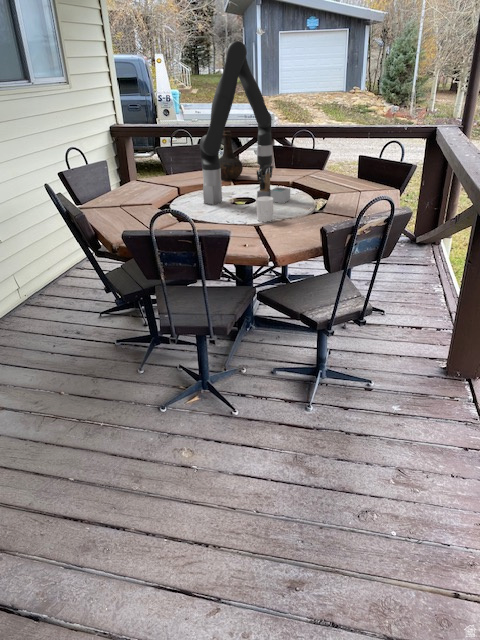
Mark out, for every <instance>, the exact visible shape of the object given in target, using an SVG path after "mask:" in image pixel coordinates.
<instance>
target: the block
mask: <svg viewBox="0 0 480 640" xmlns="http://www.w3.org/2000/svg"><path fill="white" fill-rule="evenodd" d="M262 176H264V175H262ZM259 190H260V191H263V192H267V191H269V190H271V178H270V173H267V174H266V178H265V189H264V190H262V189H260V188H259Z"/></svg>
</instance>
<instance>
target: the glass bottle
mask: <svg viewBox="0 0 480 640" xmlns="http://www.w3.org/2000/svg"><path fill="white" fill-rule="evenodd" d="M231 136H233V134H232V132H231V130H224V132H223V149H222V150H223V151H222V152H223V153H222V156H221V157H219V161H220V166H221V180H225V181H226V180H227V181H229V180H230V181H232V180H235V179H238V178H239V177H240V176H241V175H242V173H243V169H244V167H243V163H242V161H241V160H240V159H238V158H237V157H236V156H235V155H234V151H233V144H232V137H231Z"/></svg>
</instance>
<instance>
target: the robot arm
mask: <svg viewBox="0 0 480 640" xmlns="http://www.w3.org/2000/svg"><path fill="white" fill-rule="evenodd" d="M247 52H248V50H247V47H246V45H245V43H244V42H242V41H240V40H235V41H232V42H230V43H229V45H228V46H227V48H226V53H225V54H226V57H225V62H224V66H223V67H224V68H223V72H222V74H221V77H220V79H219V81H218V83H217V86H216V89H215V91H214V94H213V95H214V96H213V99H212V103H211V110H210V121H209V122H210V123H209V126H208V130H207V133H206V134H204V135H203V136H202V137H201V139H200V141H199V153H200V163H201V168H202V179H203V180H202V182H203V185H202V191H203V193H202V194H203V195H202V197H203V204H204V203H208V204H207V205H211V204H214V205H219V204H222V203H223V188H222V179H221V166H220V161H219V158H220V157H219V152H220V150H221V147H222V142H223V138H224V135H223V132H224V131H225V128H226V124H227V122H228V119H229V116H230V112H231V109H232V106H233V104H234V103H233V102H234V98H235V95H236V90H237V86H238V79H239V81H240V84H241V86H242V88H243V90H244V91H243V92H244V93H245V96H246V98H247V101H248V103H249V105H250V107H251V110H252V111H253V112H252V113H253V115H254V118H255V120H256V123H257V137H256V139H257V140H256V141H257V149H256V158H257V159H256V163H257V165H259V169H258V170H256V177H257V182H258V183H259V190H260V189H262V190H264V189H265V178H266V174H267V173H270V179H272V177H273V171H274V170H273V168H274V167H273V165H271V164H273V145H272V122H273V119H272V118H273V117H272V114H271V113H270V111H269V110H268V108H267V106H266V103H265V99H264V96H263V94H262V91H261V89H260V87H259V85H258V83H257V81H256V79H255V78H254V76H253V73H252V72H251V69H250V66H249V64H248V60H247V54H248V53H247ZM262 175H264V176H262ZM221 202H222V203H221ZM218 203H219V204H218Z"/></svg>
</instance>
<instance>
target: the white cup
mask: <svg viewBox="0 0 480 640" xmlns="http://www.w3.org/2000/svg"><path fill="white" fill-rule="evenodd" d="M255 205H256V217H257V219H256V220H257V221H258V220H259V221H270V222H272V221H273V214H274V202H273V198H272V197H267V196H263V197H258V198H257V197H256V198H255ZM271 220H272V221H271ZM259 221H258V222H259Z"/></svg>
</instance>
